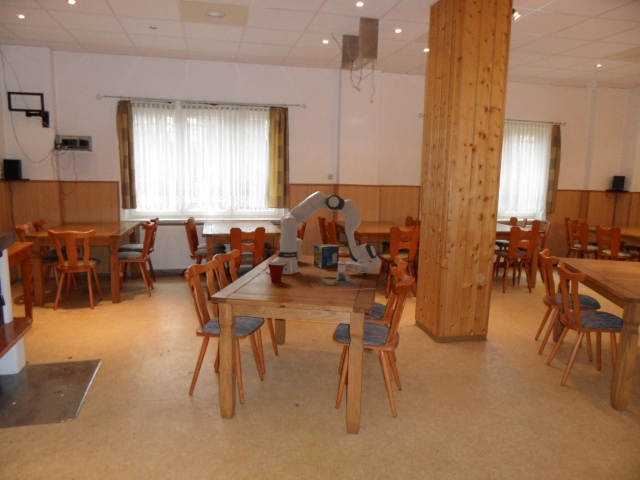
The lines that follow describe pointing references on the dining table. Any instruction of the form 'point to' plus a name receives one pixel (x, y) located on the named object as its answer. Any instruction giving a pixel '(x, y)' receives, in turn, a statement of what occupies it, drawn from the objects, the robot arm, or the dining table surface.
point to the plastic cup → (276, 271)
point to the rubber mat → (339, 282)
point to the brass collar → (330, 280)
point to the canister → (299, 245)
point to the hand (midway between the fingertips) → (350, 267)
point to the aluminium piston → (341, 270)
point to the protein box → (326, 255)
